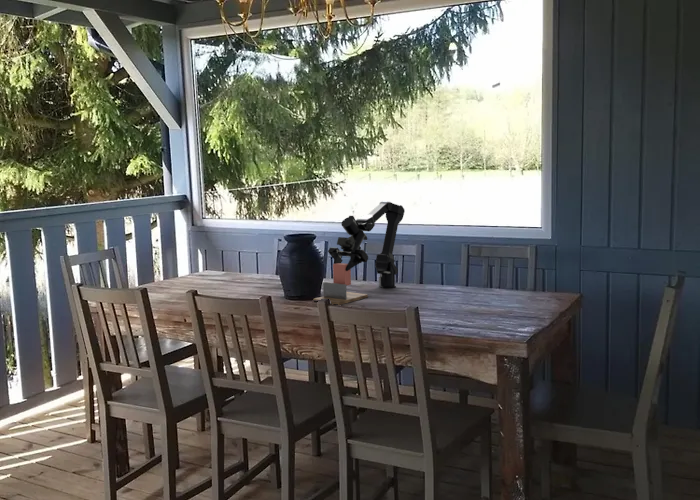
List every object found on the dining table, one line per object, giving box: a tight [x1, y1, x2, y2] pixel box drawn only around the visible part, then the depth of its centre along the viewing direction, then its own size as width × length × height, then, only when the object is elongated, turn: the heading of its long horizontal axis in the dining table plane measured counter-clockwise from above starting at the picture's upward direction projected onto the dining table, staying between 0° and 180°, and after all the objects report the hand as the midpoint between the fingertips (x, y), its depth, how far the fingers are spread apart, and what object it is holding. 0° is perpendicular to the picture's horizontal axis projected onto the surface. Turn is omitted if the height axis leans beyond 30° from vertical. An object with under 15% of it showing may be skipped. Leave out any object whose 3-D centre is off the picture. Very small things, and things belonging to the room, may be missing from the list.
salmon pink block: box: [332, 262, 352, 287], centre depth 303 cm, size 4×6×9 cm, turn 52°
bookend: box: [322, 281, 347, 300], centre depth 300 cm, size 1×12×6 cm, turn 52°
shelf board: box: [312, 291, 369, 306], centre depth 303 cm, size 20×14×1 cm
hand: (339, 269), depth 301 cm, fingers closed on salmon pink block, 6 cm apart
